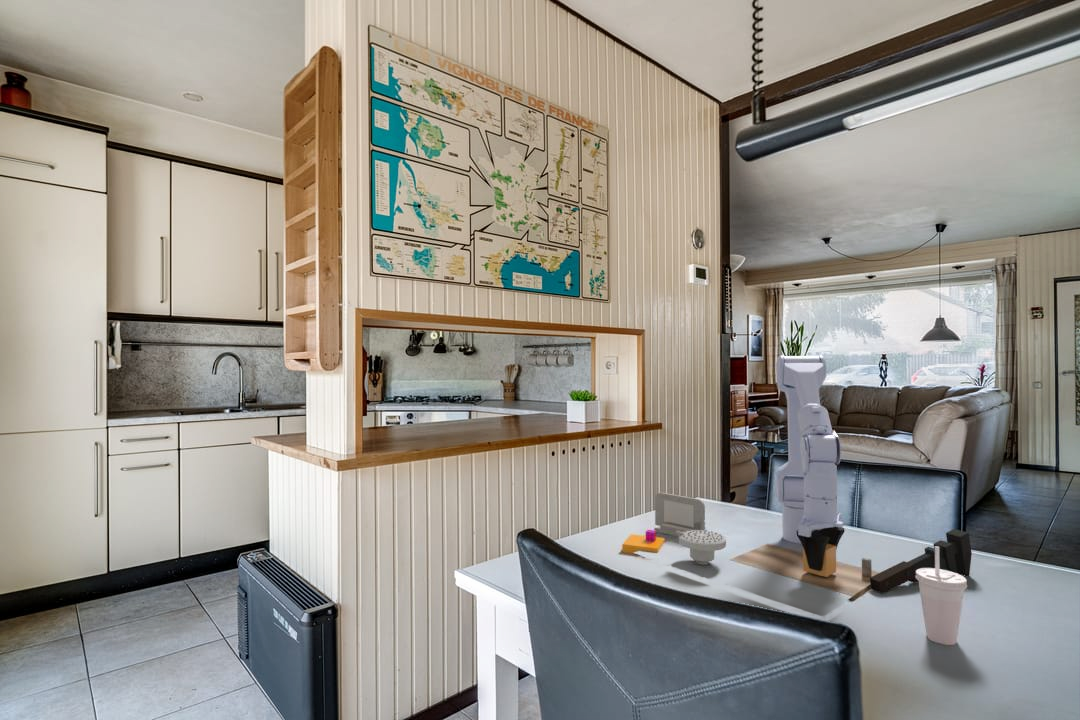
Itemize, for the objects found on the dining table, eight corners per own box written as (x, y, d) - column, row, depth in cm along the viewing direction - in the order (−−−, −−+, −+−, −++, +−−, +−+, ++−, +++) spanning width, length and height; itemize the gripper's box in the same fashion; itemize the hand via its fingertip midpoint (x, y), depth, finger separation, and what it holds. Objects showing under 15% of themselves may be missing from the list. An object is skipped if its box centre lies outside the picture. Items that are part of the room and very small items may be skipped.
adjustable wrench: (873, 613, 104) (960, 568, 112) (887, 619, 101) (974, 573, 110) (866, 571, 103) (954, 528, 112) (880, 576, 100) (968, 532, 109)
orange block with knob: (658, 558, 120) (657, 539, 121) (622, 554, 124) (622, 535, 124) (665, 547, 128) (664, 529, 128) (631, 543, 131) (630, 525, 131)
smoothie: (905, 629, 87) (905, 540, 87) (943, 628, 88) (943, 539, 88) (938, 650, 81) (937, 554, 81) (979, 648, 81) (978, 553, 81)
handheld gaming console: (720, 534, 137) (719, 494, 137) (702, 543, 130) (702, 501, 130) (672, 524, 146) (672, 486, 146) (654, 532, 139) (653, 492, 139)
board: (767, 548, 126) (767, 529, 126) (885, 578, 108) (885, 557, 108) (729, 564, 116) (729, 544, 116) (852, 601, 97) (852, 577, 97)
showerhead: (674, 524, 120) (723, 526, 118) (675, 557, 120) (723, 560, 118) (676, 537, 111) (728, 540, 109) (676, 573, 111) (729, 577, 109)
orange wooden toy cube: (813, 565, 111) (812, 540, 111) (836, 571, 107) (835, 545, 107) (803, 570, 108) (802, 544, 108) (826, 577, 105) (826, 550, 105)
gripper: (825, 506, 100) (826, 581, 100) (857, 494, 109) (858, 563, 109) (787, 499, 105) (787, 570, 105) (820, 488, 115) (821, 553, 114)
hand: (820, 566), depth 107 cm, fingers closed on orange wooden toy cube, 4 cm apart
